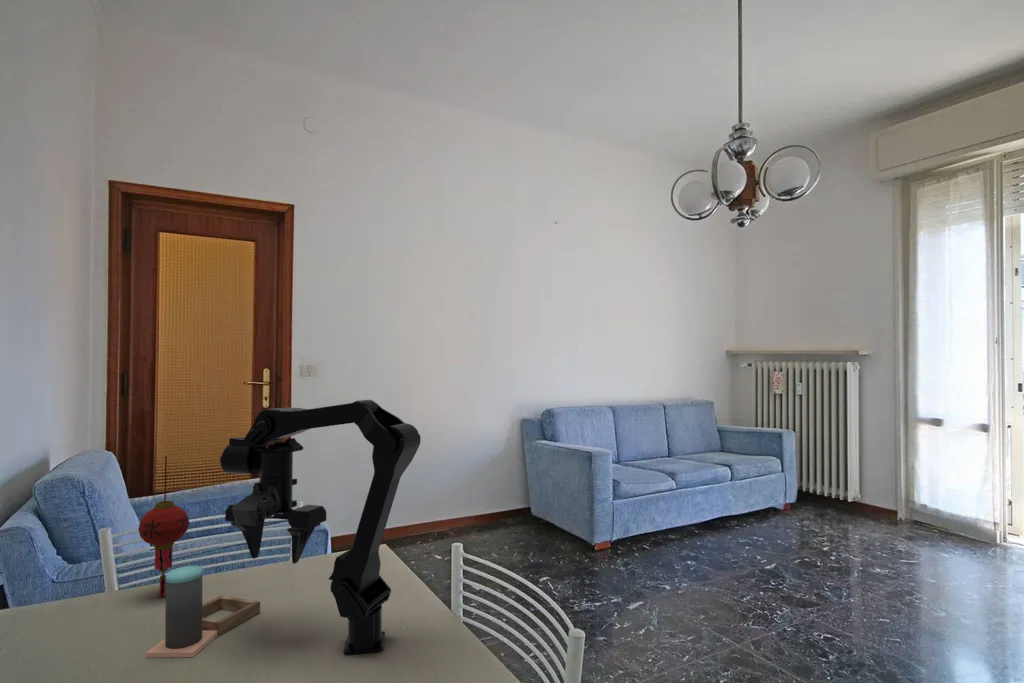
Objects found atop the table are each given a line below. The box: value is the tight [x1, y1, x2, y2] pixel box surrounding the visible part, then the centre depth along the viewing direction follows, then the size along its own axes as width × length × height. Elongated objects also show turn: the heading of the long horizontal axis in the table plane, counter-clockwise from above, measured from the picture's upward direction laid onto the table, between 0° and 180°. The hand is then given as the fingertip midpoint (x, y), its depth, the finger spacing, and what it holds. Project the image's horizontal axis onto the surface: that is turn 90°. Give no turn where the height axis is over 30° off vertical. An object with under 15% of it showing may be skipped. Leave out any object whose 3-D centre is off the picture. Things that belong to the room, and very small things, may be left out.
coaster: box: [145, 630, 219, 659], centre depth 98 cm, size 8×8×1 cm
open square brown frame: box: [202, 595, 261, 636], centre depth 108 cm, size 10×10×2 cm
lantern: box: [138, 455, 190, 598], centre depth 120 cm, size 10×10×30 cm
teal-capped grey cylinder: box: [164, 565, 203, 649], centre depth 98 cm, size 6×6×12 cm
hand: (274, 560), depth 103 cm, fingers open, 9 cm apart
